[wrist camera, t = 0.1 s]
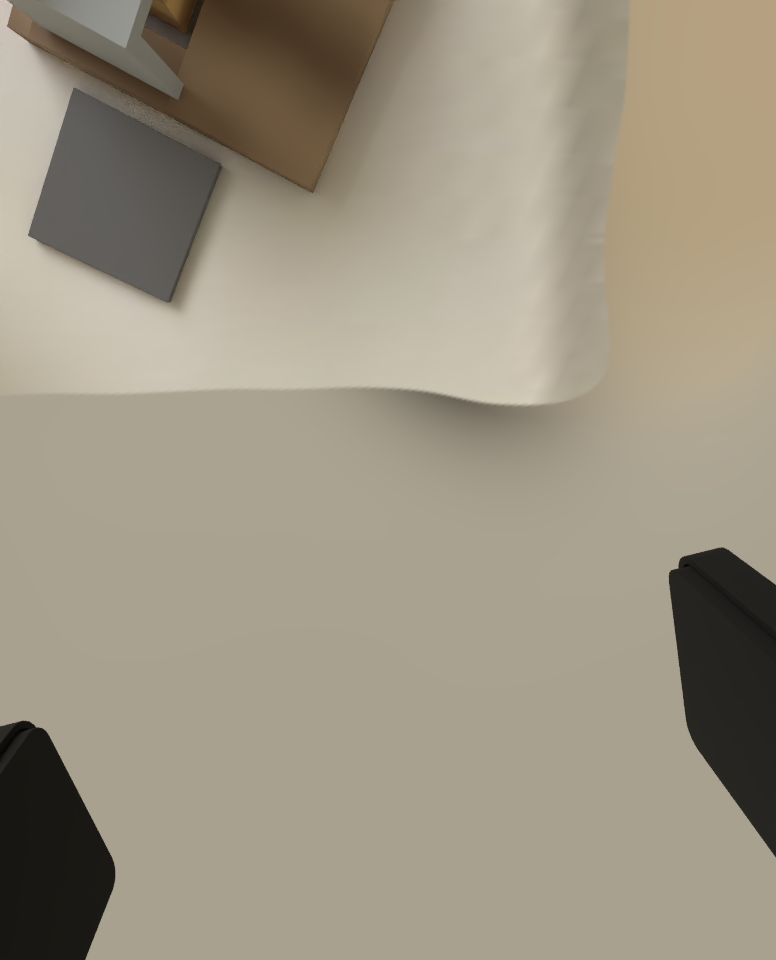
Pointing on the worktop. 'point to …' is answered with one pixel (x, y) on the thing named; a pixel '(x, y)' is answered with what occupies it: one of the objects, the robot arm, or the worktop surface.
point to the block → (173, 12)
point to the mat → (123, 196)
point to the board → (253, 75)
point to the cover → (106, 35)
